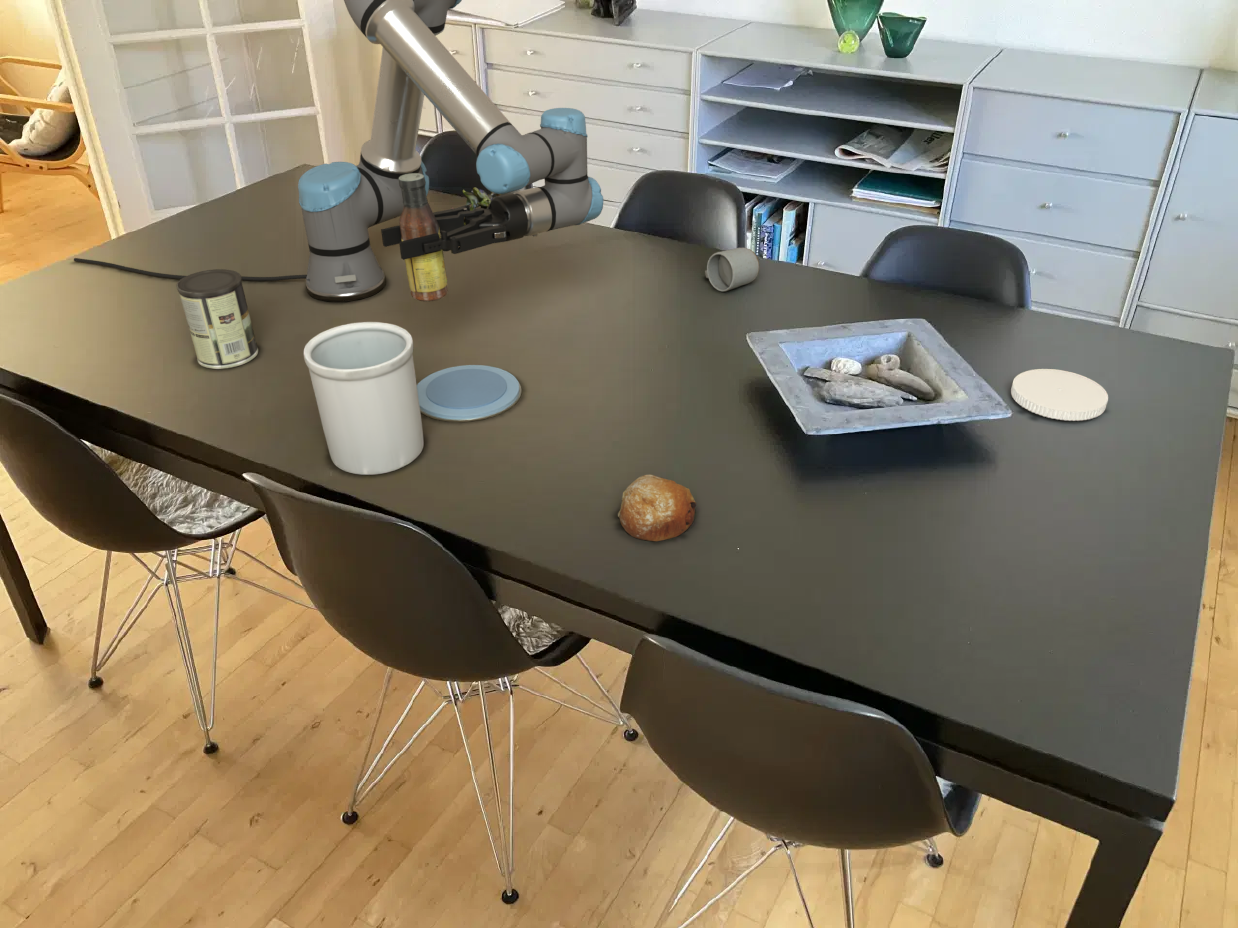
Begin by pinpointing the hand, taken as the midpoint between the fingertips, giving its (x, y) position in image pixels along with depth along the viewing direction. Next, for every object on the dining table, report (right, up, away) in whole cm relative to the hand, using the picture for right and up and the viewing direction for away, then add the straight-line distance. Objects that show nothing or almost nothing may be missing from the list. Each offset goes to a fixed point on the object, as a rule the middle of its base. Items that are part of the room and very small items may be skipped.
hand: (392, 244), depth 156 cm
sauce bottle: (+4, -7, +8) cm, 11 cm away
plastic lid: (+105, -25, 0) cm, 108 cm away
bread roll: (+41, -42, -25) cm, 64 cm away
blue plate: (+11, -23, +4) cm, 26 cm away
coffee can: (-33, -16, +17) cm, 40 cm away
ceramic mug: (+57, +1, +41) cm, 71 cm away
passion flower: (+4, +19, +70) cm, 72 cm away
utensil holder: (0, -33, -10) cm, 34 cm away
